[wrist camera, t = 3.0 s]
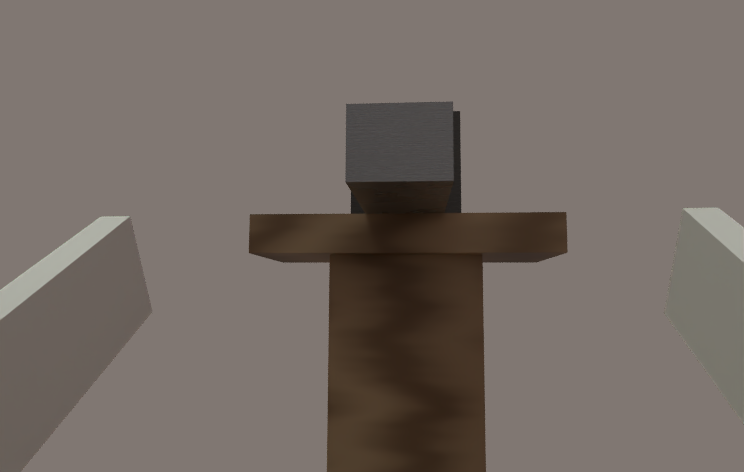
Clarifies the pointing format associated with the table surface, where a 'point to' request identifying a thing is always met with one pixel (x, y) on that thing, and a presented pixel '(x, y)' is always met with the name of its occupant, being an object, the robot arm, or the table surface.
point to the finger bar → (403, 158)
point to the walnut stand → (407, 326)
